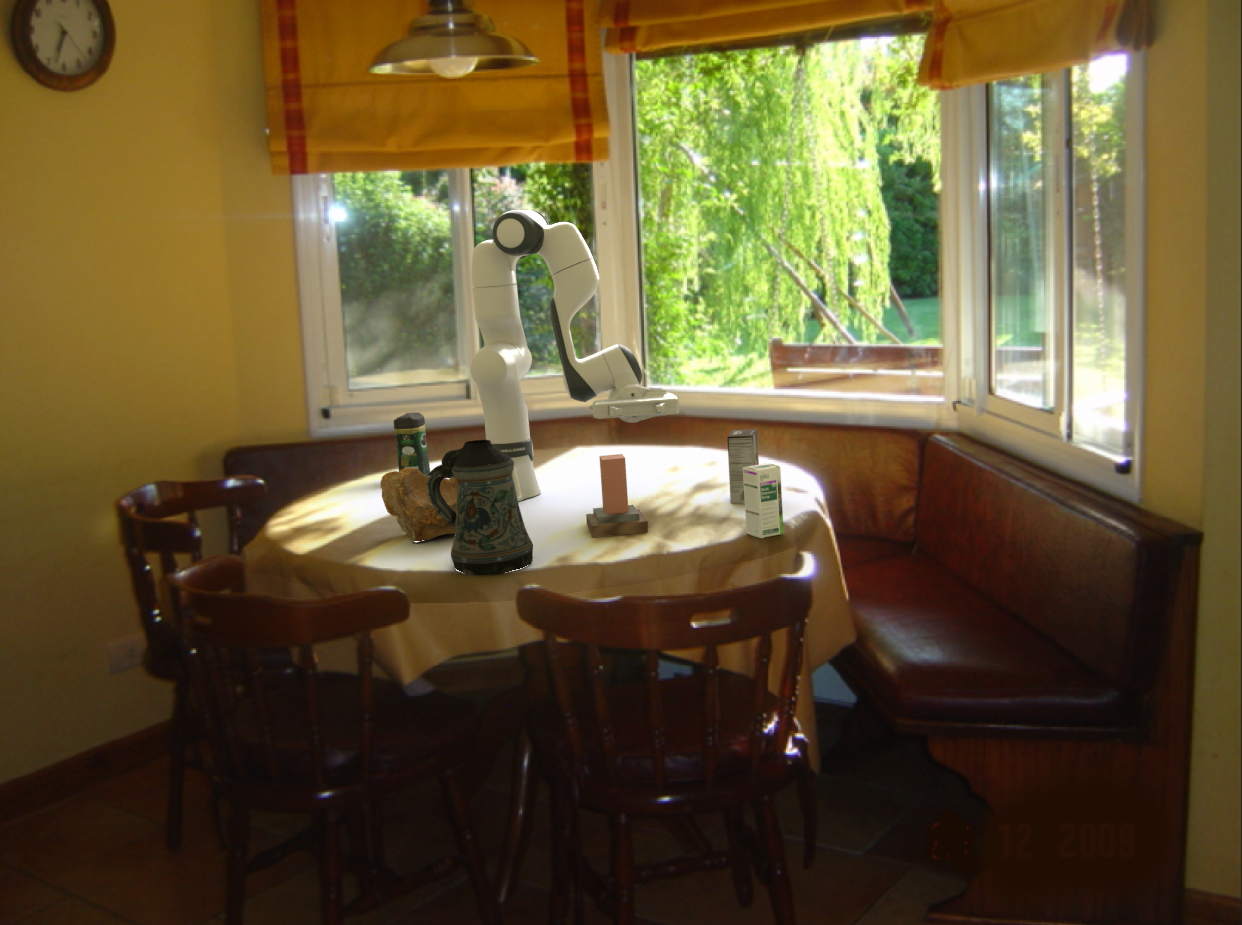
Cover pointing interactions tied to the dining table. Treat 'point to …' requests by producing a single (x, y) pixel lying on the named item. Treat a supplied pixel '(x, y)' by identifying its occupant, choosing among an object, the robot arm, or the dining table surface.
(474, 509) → the beer stein
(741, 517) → the dining table surface
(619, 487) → the carton
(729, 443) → the coffee box
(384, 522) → the dining table surface
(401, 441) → the coffee jar
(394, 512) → the rough brown rock
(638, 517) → the podium
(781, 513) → the syrup box
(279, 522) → the dining table surface
